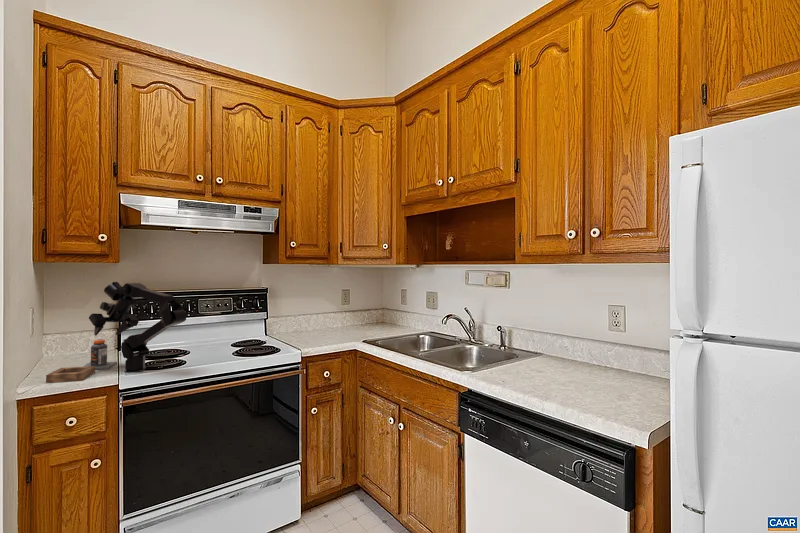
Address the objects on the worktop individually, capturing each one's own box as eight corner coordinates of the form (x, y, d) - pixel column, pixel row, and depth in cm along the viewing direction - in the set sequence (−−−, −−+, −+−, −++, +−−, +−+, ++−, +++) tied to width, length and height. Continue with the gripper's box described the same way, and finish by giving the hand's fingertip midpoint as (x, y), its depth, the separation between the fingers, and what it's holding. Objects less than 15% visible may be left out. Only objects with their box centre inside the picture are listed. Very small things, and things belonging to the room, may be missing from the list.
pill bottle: (87, 365, 183) (88, 339, 183) (103, 362, 188) (103, 338, 188) (94, 367, 180) (95, 341, 180) (109, 364, 185) (110, 339, 185)
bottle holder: (94, 373, 175) (94, 366, 175) (82, 380, 163) (82, 373, 163) (60, 375, 171) (60, 367, 171) (46, 382, 160) (46, 375, 160)
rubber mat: (117, 364, 191) (117, 361, 191) (108, 369, 180) (108, 367, 180) (89, 365, 187) (89, 363, 187) (78, 371, 177) (78, 368, 177)
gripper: (135, 297, 194) (119, 323, 196) (92, 294, 177) (75, 323, 179) (146, 311, 189) (130, 338, 192) (103, 310, 173) (86, 339, 175)
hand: (106, 334), depth 185 cm, fingers open, 9 cm apart
